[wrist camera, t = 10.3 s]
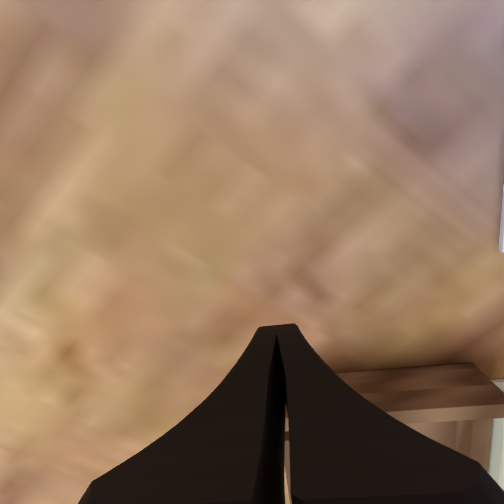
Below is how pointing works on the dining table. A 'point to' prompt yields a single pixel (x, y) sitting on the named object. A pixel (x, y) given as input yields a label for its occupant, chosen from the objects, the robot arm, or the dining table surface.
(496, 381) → the cover plate
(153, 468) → the robot arm
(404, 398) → the groove box
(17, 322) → the dining table surface
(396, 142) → the dining table surface
